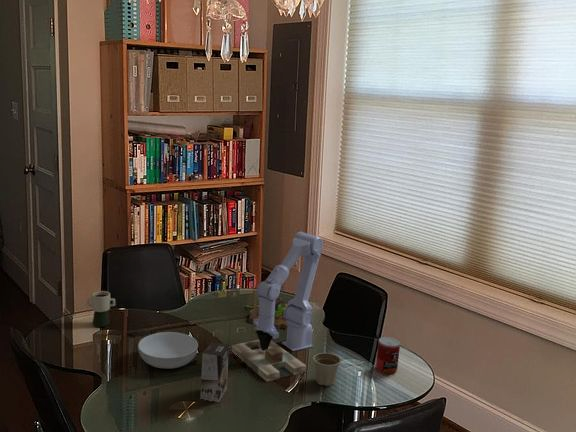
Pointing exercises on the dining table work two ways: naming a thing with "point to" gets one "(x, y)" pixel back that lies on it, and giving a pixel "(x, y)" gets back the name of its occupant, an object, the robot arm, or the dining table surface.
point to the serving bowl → (168, 349)
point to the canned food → (387, 355)
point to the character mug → (100, 307)
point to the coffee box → (214, 371)
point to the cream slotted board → (264, 368)
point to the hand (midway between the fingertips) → (264, 349)
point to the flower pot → (326, 368)
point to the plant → (278, 317)
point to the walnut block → (273, 355)
